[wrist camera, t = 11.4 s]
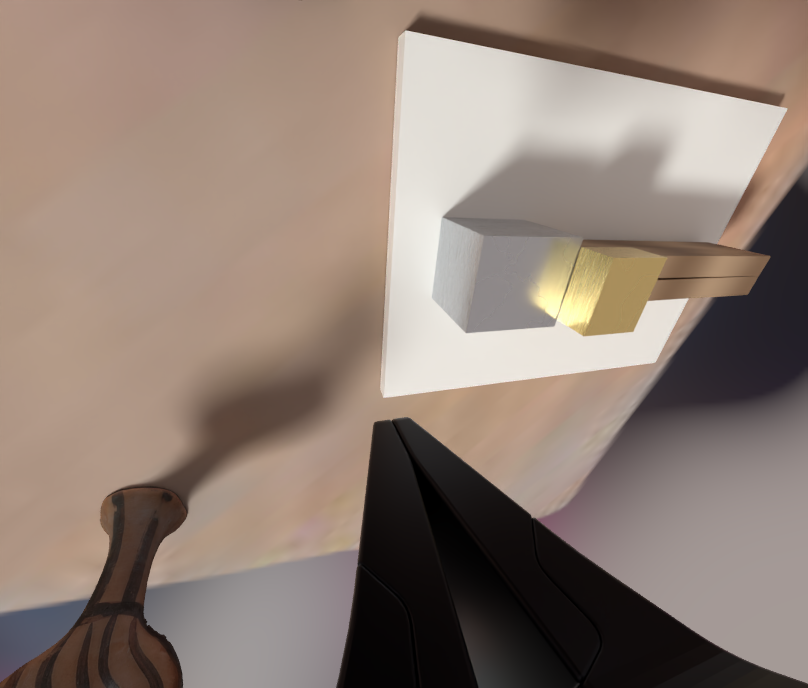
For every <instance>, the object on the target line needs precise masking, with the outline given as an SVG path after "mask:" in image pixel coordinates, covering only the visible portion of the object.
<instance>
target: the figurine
mask: <svg viewBox="0 0 808 688" xmlns="http://www.w3.org/2000/svg"><path fill="white" fill-rule="evenodd" d="M186 517H187V512H186V510H185V508H184V506H183V504H182V502H181V500H180V499H179V498H178V496H177V495H176V494H175V493H173V492H170V491H169V490H166V489H161V488H153V487H148V488H147V487H146V488H134V489H128V490H121V491H119V492H116V493H114V494H112V495H110V496H108V497H106V499H105V500H104V501H103V503H102V507H101V519H100V521H101V526H102V527H103V529H104V531H105V532H106V533H107V534H108V535H109V540H110V542H109V552H108V557H107V560H106V563H105V566H104V569H103V572H102V574H101V577H100V579H99V581H98V584H97V586H96V588H95V590H94V592H93V594H92V596H91V598H90V600H89V602H88V604H87V606H86V608H85V609H84V611H83V613H82V614H81V616H80V617H79V619H78V620H77V622H76V623H75V625H74V626H73V627H72V628H71V629H70V631H69V632H68V633H67V634H66V635H65V636H64V637H63V638H62V639H61V640H60V641H58V642H57V643H56V644H55V645H53V646H52V647H51V648H49V649H48V650H46V651H45V652H43V653H42V654H41V655H39V656H38V657H36V658H34V659H33V660H31V661H29V662H28V663H26V664H25V665H23V666H22V667H20V668H19V669H18V670H16V671H15V672H14V673H12V674H11V675H10V676H9V677H7V678H6V679H4V680H3V681H2V682H1V683H0V688H183V679H182V670H181V666H180V662H179V659H178V657H177V654H176V652H175V650H174V648H173V646H172V644H171V643H170V642H169V641H167V639H166V636H165V635H161V634H159V633H158V632H157V631H154V630H153V628H151V627H150V625H148V626H147V624H146V623H147V621H146V619H145V618H144V613H143V611H144V600H145V593H146V587H147V581H148V577H149V573H150V569H151V565H152V562H153V559H154V556H155V554H156V552H157V549H158V547H159V545H160V543H161V542H162V541H163V539H164V538H165V537H166V536H168V535H169V534H171V533H173V532H174V531H176V530H177V529H178V528H179V527H180V525H182V523H183V522H184V520H185V519H186Z"/></svg>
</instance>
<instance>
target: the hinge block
mask: <svg viewBox="0 0 808 688" xmlns="http://www.w3.org/2000/svg"><path fill="white" fill-rule="evenodd" d="M582 241H583V237H580V236H577V235H573V234H570V233H567V232H563V231H560V230H557V229H554V228H550V227H547V226H544V225H540V224H537V223H534V222H530V221H527V220H512V219H483V218H454V217H442V220H441V228H440V236H439V244H438V252H437V260H436V268H435V276H434V284H433V292H432V299H433V300H434V301H435V302H436V303H437V304H438V305H439V306H440V307H441V308H442V309H443V310H444V311H445V312H446V313H447V314H448V315H449V316H450V317H451V318H452V319H453V321H454V322H455V323H456V324H457V325H458V326H459V327H460V328H461V329H462V330H463V331H464V332H465V333H476V332H489V331H502V330H515V329H528V328H541V327H554V326H555V323H556V320H557V317H558V314H559V311H560V308H561V305H562V302H563V299H564V296H565V293H566V290H567V287H568V284H569V281H570V278H571V275H572V272H573V269H574V266H575V262H576V259H577V256H578V253H579V250H580V247H581V244H582Z"/></svg>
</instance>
